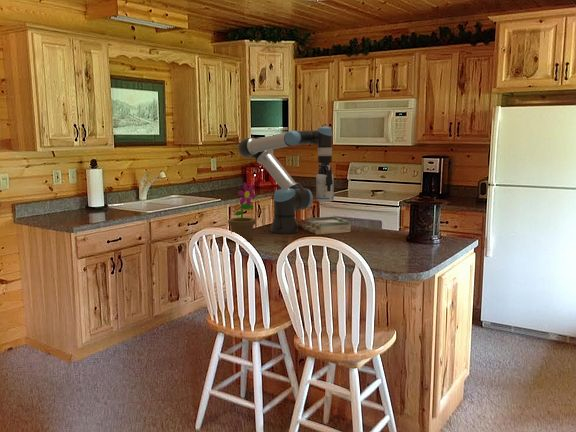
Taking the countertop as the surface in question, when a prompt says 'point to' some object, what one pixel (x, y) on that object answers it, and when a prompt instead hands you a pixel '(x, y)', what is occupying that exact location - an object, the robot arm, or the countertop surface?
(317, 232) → the shallow square tray
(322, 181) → the supplement tub
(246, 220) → the flowerpot
